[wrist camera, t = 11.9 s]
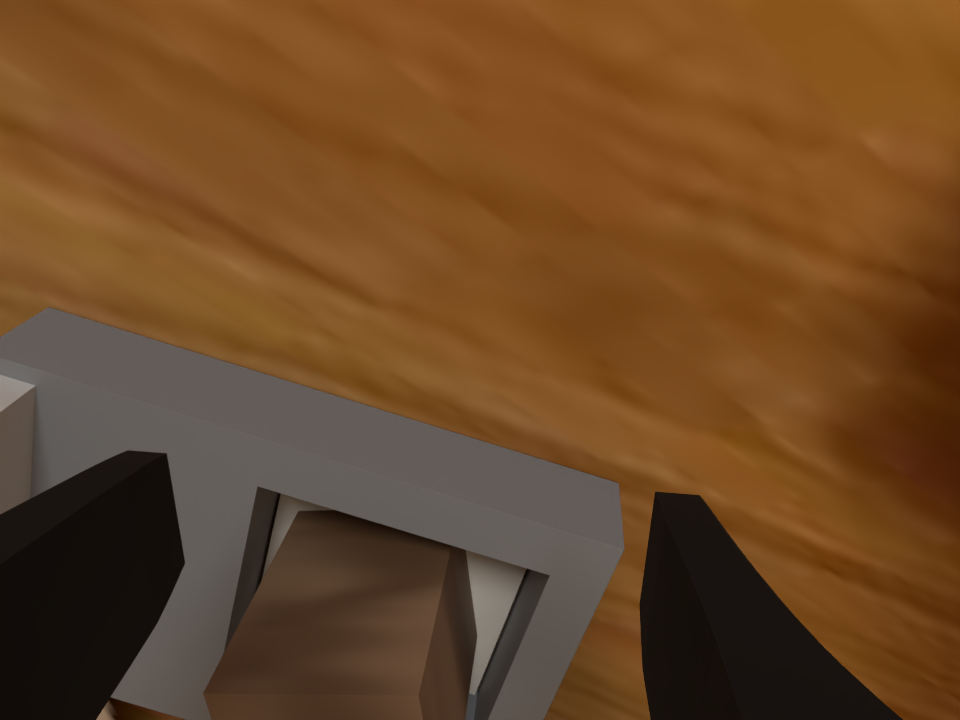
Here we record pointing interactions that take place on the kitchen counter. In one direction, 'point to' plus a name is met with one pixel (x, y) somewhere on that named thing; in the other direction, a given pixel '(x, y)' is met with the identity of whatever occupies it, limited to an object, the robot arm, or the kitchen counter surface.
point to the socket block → (304, 500)
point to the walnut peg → (352, 629)
